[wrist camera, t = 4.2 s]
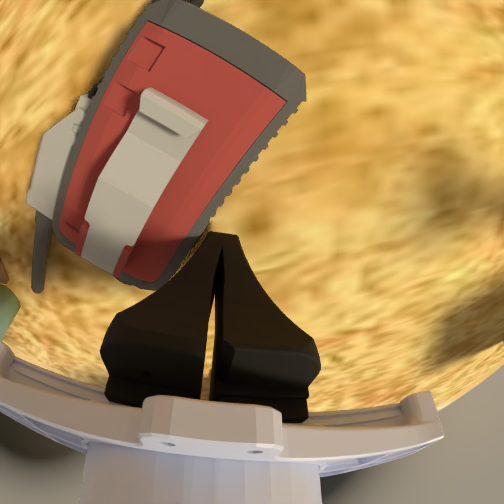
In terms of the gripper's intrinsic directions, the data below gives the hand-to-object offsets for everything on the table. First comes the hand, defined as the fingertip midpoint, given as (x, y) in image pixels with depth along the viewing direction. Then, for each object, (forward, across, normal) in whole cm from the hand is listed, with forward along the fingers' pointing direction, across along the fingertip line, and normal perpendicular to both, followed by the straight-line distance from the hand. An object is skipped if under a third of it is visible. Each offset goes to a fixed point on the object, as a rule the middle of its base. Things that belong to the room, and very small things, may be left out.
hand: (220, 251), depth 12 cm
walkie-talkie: (+2, +5, -2) cm, 6 cm away
